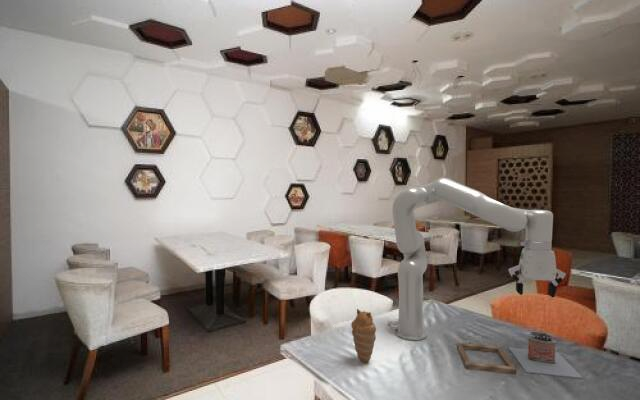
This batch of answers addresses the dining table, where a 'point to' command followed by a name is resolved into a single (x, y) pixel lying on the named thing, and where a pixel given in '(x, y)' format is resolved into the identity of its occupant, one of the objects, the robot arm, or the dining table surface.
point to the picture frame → (486, 367)
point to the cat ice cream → (363, 335)
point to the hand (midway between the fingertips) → (535, 294)
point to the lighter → (541, 347)
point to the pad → (545, 365)
